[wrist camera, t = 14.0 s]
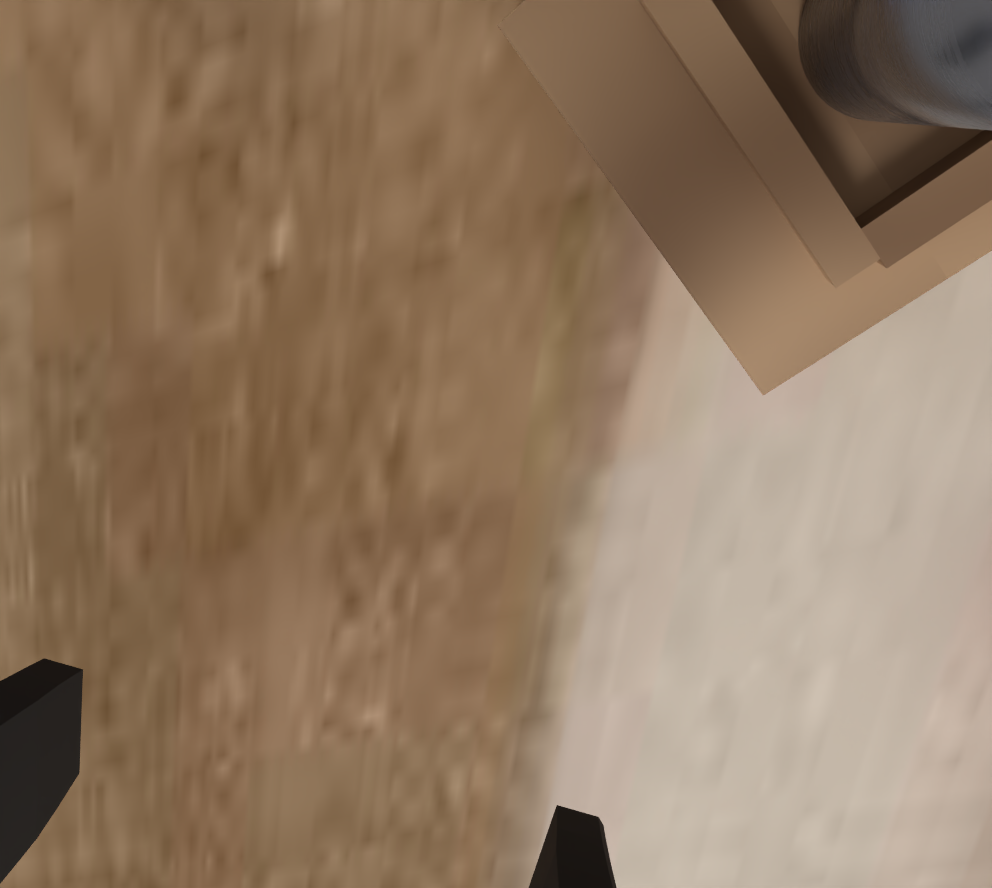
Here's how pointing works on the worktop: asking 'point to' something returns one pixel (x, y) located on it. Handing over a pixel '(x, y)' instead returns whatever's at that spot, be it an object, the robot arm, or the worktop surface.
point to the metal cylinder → (901, 59)
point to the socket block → (758, 170)
